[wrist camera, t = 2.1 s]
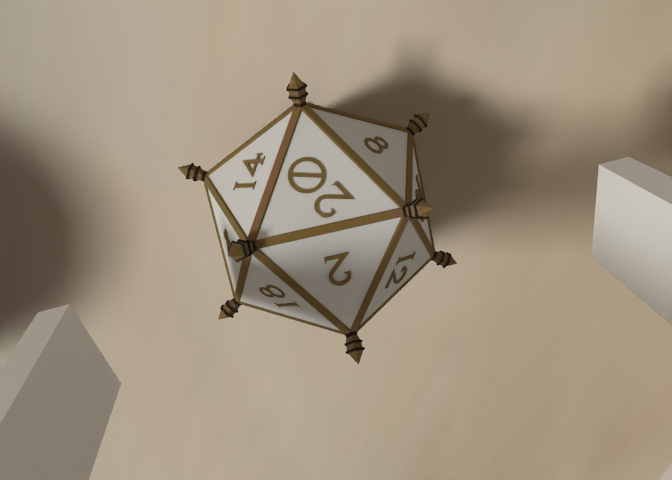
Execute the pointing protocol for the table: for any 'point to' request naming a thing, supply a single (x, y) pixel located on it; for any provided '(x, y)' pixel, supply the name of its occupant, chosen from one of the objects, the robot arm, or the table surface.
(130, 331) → the table surface
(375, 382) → the table surface
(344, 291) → the game die
